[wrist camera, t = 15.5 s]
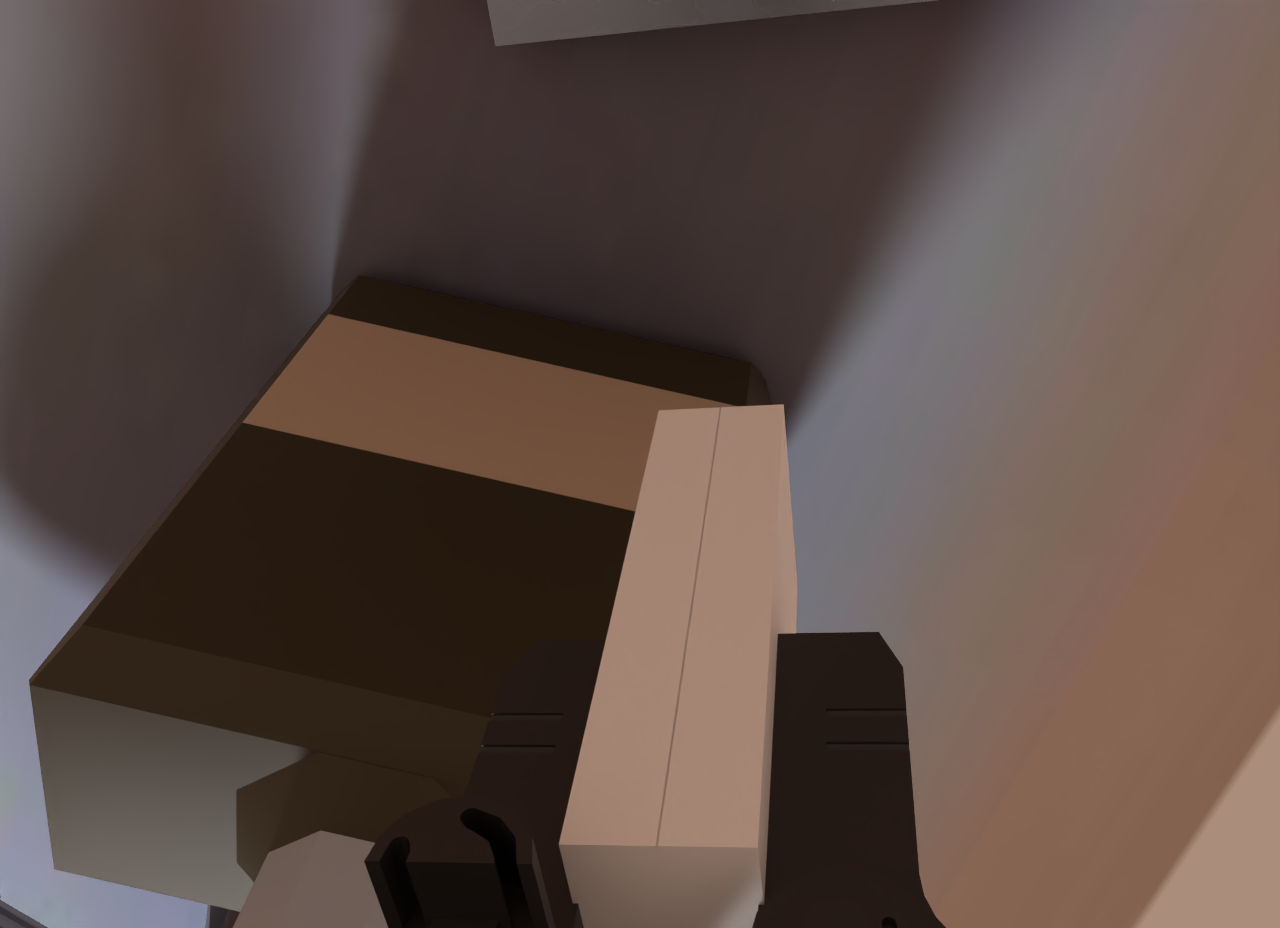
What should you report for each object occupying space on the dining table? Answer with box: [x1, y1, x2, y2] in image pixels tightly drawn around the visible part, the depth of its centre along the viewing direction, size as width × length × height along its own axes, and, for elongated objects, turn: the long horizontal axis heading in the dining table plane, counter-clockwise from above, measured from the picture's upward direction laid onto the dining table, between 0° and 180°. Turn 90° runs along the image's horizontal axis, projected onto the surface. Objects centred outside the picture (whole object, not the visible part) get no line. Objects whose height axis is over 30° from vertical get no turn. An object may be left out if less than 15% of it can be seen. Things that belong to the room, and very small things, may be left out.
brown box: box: [29, 275, 771, 928], centre depth 33 cm, size 8×16×25 cm, turn 80°
